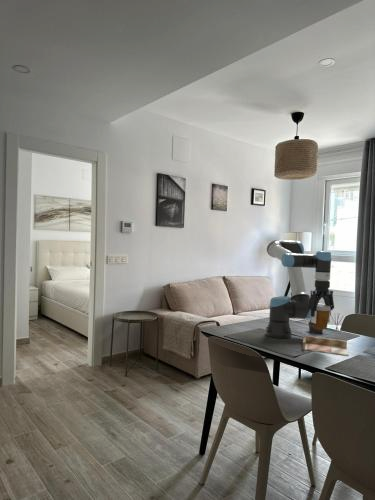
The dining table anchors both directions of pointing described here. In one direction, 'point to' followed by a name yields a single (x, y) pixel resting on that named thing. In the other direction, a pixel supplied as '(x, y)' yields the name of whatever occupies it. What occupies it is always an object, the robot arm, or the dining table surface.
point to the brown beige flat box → (325, 345)
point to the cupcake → (314, 330)
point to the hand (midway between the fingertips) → (320, 322)
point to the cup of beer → (322, 316)
